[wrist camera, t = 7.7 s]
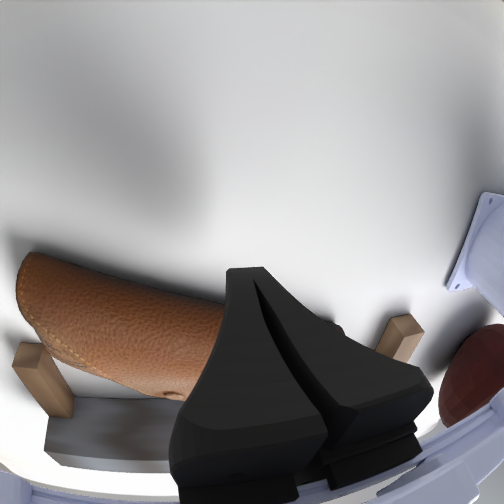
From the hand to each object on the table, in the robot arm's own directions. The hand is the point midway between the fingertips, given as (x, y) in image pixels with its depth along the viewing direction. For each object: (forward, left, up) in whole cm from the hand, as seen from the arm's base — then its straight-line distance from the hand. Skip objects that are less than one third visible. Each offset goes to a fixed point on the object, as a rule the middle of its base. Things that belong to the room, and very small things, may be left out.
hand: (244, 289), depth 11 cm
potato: (-26, +14, -4) cm, 30 cm away
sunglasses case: (+3, +6, -4) cm, 8 cm away
